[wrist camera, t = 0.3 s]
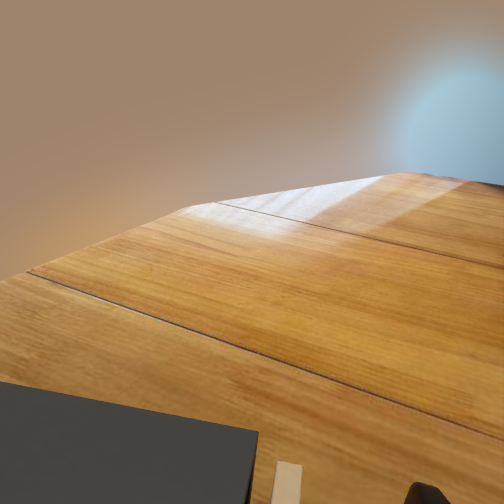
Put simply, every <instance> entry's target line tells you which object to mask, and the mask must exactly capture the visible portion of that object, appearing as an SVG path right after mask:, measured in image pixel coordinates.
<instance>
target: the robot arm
mask: <svg viewBox="0 0 504 504" xmlns="http://www.w3.org/2000/svg"><path fill="white" fill-rule="evenodd" d="M404 504H450V502H449V501H448V500H447V499H446V497H445V496H444V495H443V494H442V492H441V491H440V490H439V489H438V488H437V487H434V486H431V485H428V484H424V483H421V482H414V483H413V484H412V485H411V487H410V489H409V492H408V494H407V497H406V499H405V502H404Z"/></svg>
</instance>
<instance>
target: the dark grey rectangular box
mask: <svg viewBox="0 0 504 504" xmlns="http://www.w3.org/2000/svg"><path fill="white" fill-rule="evenodd" d="M258 434H259V433H258V431H253V430H247V429H242V428H237V427H232V426H227V425H222V424H217V423H211V422H206V421H201V420H196V419H191V418H186V417H181V416H175V415H170V414H165V413H160V412H155V411H150V410H145V409H139V408H134V407H129V406H124V405H119V404H114V403H109V402H103V401H98V400H93V399H88V398H83V397H78V396H73V395H67V394H62V393H57V392H52V391H47V390H42V389H37V388H31V387H26V386H21V385H16V384H11V383H6V382H1V381H0V504H250V499H251V491H252V482H253V474H254V466H255V458H256V450H257V442H258Z"/></svg>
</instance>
